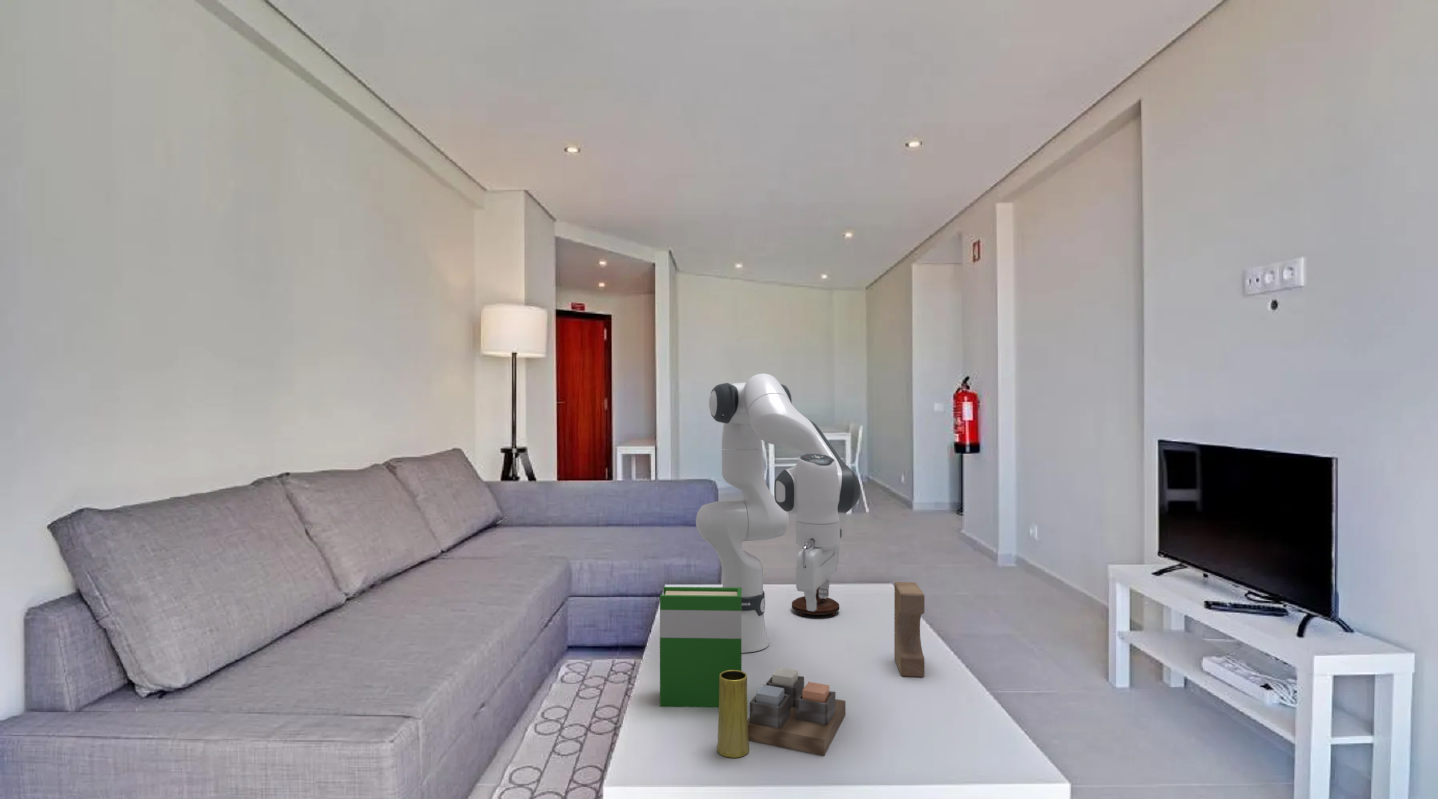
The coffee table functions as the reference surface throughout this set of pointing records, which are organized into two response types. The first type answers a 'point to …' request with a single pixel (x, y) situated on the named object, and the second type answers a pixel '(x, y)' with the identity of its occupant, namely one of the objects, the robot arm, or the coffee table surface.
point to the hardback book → (697, 643)
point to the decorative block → (908, 629)
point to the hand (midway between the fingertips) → (818, 603)
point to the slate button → (770, 695)
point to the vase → (733, 714)
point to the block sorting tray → (796, 720)
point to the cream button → (785, 676)
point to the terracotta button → (816, 692)
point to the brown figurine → (822, 605)
